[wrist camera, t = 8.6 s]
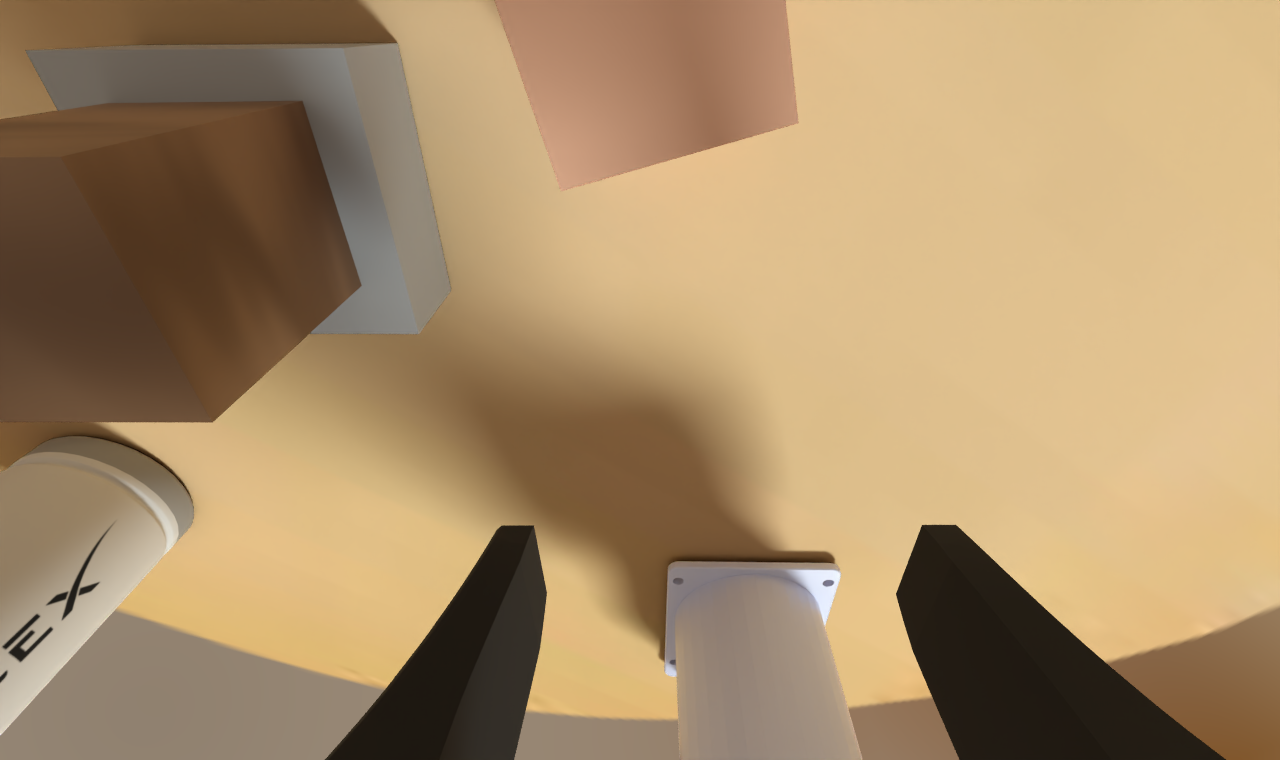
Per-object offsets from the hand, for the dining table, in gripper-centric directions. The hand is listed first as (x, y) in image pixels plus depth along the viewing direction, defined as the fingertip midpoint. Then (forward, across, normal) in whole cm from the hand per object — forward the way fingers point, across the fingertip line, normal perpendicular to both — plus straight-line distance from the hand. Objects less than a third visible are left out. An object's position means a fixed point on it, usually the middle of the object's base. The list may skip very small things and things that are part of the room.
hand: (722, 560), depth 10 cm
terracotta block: (+10, +1, -9) cm, 13 cm away
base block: (+10, +12, -5) cm, 16 cm away
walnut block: (+7, +11, -5) cm, 14 cm away
